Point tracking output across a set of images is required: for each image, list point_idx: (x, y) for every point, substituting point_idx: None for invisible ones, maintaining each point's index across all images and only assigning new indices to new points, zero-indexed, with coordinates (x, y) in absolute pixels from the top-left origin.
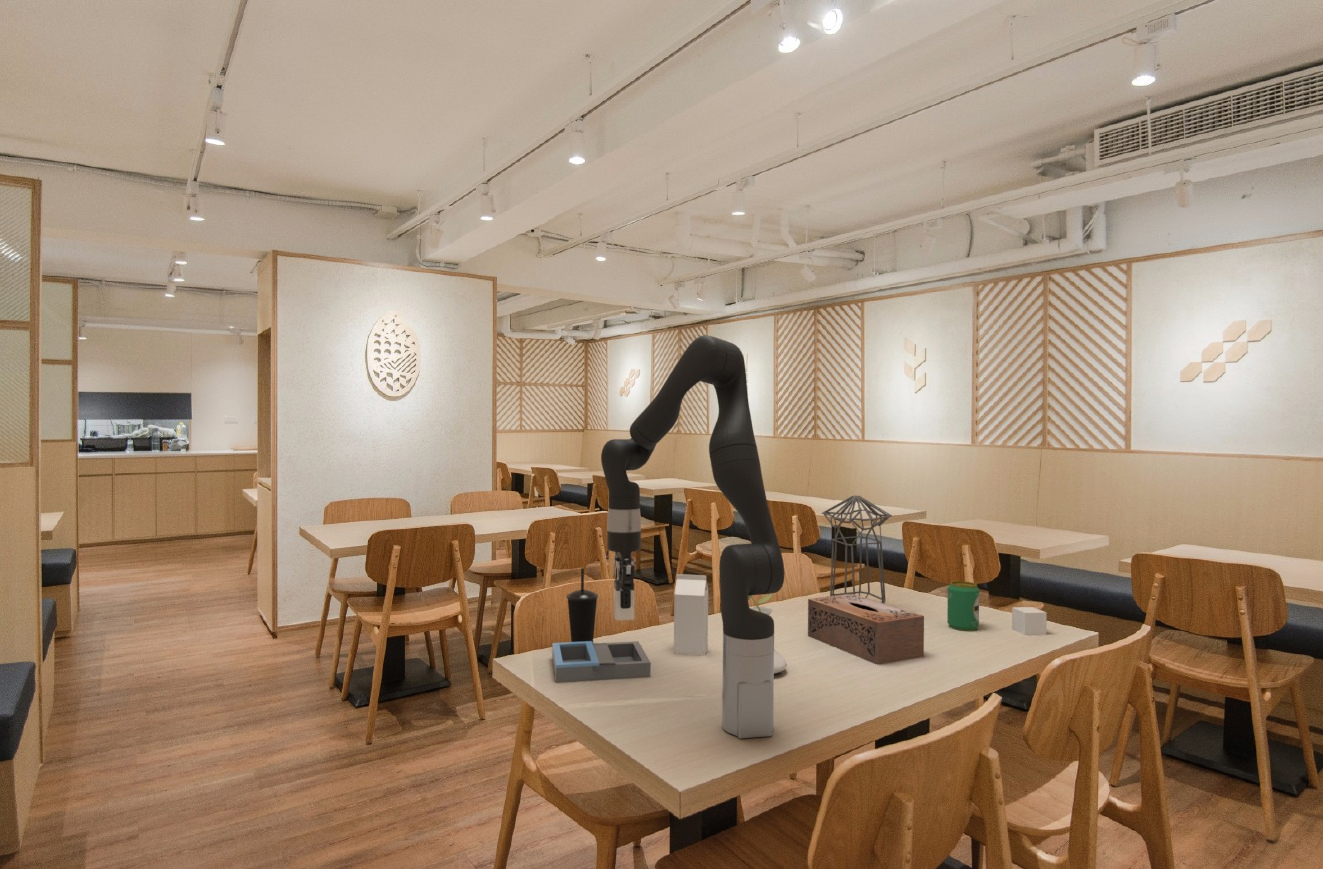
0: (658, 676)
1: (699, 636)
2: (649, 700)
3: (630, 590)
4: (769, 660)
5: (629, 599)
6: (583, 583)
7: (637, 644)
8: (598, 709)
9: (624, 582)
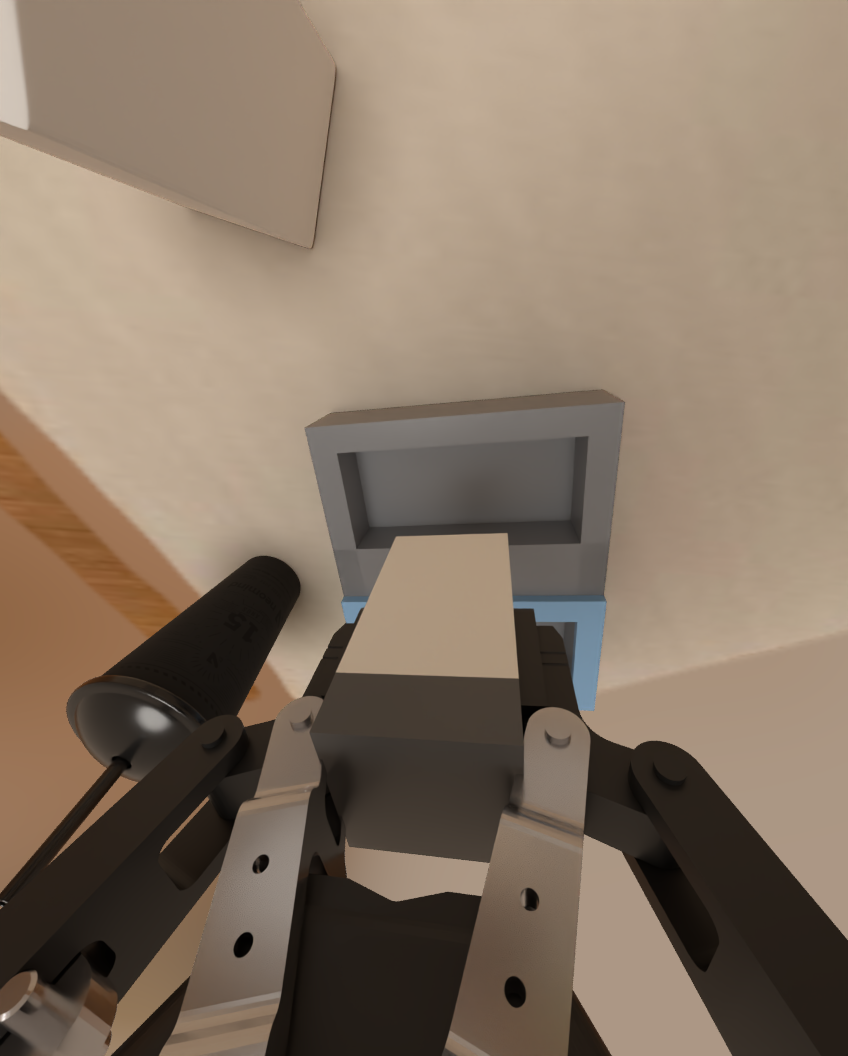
0: (551, 349)
1: (281, 17)
2: (811, 412)
3: (579, 726)
4: None
5: (541, 656)
6: (92, 797)
7: (351, 435)
8: (810, 576)
9: (450, 805)
